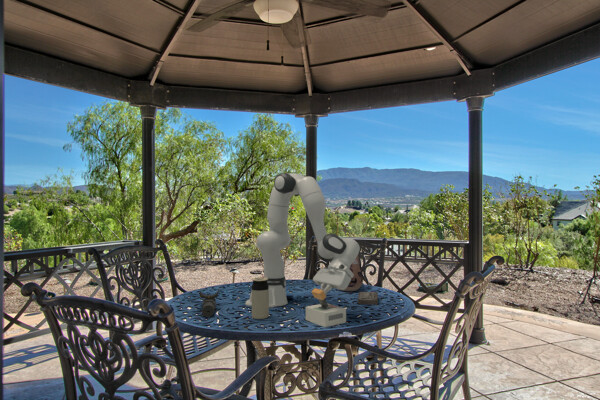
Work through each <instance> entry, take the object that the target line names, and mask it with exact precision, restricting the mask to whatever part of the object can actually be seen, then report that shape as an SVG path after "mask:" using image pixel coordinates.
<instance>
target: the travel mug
mask: <svg viewBox="0 0 600 400" xmlns="http://www.w3.org/2000/svg"><path fill="white" fill-rule="evenodd" d="M251 280H252V284H251V292H252V306H251V317H252V319H255V320H265V319H268V318H269V317H270V314H269V313H270V312H269V311H270V310H269V309H270V307H269V285H268V283H267V280H268V278H265V277H263V276H262V277H261V276H259V277H253V278H252V279H251Z"/></svg>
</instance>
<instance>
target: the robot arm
mask: <svg viewBox="0 0 600 400" xmlns="http://www.w3.org/2000/svg"><path fill="white" fill-rule="evenodd" d="M292 196H295V197H298V196H299V197H300V199H301V203H302V205H303V208H304V210H305V212H306V215H307V218H308V221H309V222H310V226H311V229H312V232H313V235H314V238H315V243H316V255H317V257H318V258H319V259H320V260H321V261H322V262H327V263H328V262H329V264H328V266H324V267H323V268H320V269H319V270H318V271H317V272H316V273H315V275H314V276H313V278H312V281H313V282H314V283H315V284H316V285H318V286H320V288H319V289H320V290H323V291H324V293H325V295H326V296H327V294H328V293H329V292H330V291H331V290H332V289H335V290H336V289H337V290H340V291H343V290H345V289H346V288H347V286H348V285H349V283H350V281H351V278H353V276H354V275H353V273H352V272H351V271H350V270H349V268H350V265H351V264H352V263H353V262H354V261H355V259H356V257H357V255H358V253H359V254H360V251H361V246H360V245H359V242H357V241H356V240H355V239H354V238H352V237H343V236H342V237H341V236H339V235H337V234H336V233H328V232H327V229H326V227H325V221H324V220H325V211H326V208H327V205H326V200H325V196H324V193H323V191H322V189H321V186H320V185H319V183H318V182H317V180H316V179H315V178H314V177H312V176H310V175H308V176H306V175H303V174H299V173H289V172H282V173H278V174H277V175H276V176H275V178H274V182H273V187H272V189H271V192H270V197H269V201H268V207H267V215H266V219H267V221H268V224H269V231H268V230H267V231H263V232H262V233H260V234H259V235H258V236H257V238H256V239H255V240H256V242H255V243H256V247H257V249H258V250H259V251H260V253H261V256H262V260H263V276H262V277H265V278H268V280H267V283H268V285H269V308H275V307H282V306H285V305H287V304H288V303H289V302H288V299H287V293H286V285H287V282H286V281H287V280H286V276H285V274H286V273H285V269H286V268H285V266H286V265H285V264H286V263H285V261H284V260H283V257H282V255H281V250H285V249H286V248H288V247H289V246H290V244H291V242H292V239H291V235H290V233H289V227H288V226H289V225H288V218H289V210H290V203H291V198H292ZM330 261H331V263H330ZM249 294H250V296H249V299H247V300H246V301H245V303H244V304H245V306H247V307H248V306H249V307H252V291H251V292H250V293H249Z"/></svg>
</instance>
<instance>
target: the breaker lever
mask: <svg viewBox="0 0 600 400" xmlns="http://www.w3.org/2000/svg"><path fill="white" fill-rule="evenodd" d="M320 289H321V288H315V287H314V288H313V289H312V290H311V293H312V296H313V298H314V299H317V300H318V303H319V304H321V306H322V307H325V308H327V307H328V304H329V303H328V302H327V299H326V298H327V294H326V295H325V293H324V291H323V290H320ZM327 303H328V304H327Z"/></svg>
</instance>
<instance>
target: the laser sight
mask: <svg viewBox="0 0 600 400" xmlns="http://www.w3.org/2000/svg"><path fill="white" fill-rule="evenodd" d="M198 291H199V298H201V299H203V300H202V305H201V306H202V307H201V308H202V309H201V310H202V311H201V314H202V316H204V318H211V317H213V315H214V314H215V311H216V306H217V299H216V298H218V296H219V292H220V289H219V288H218V289H217V292H215V293H213V294H204V293H203V292H202V290H201V289H199V290H198Z"/></svg>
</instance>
